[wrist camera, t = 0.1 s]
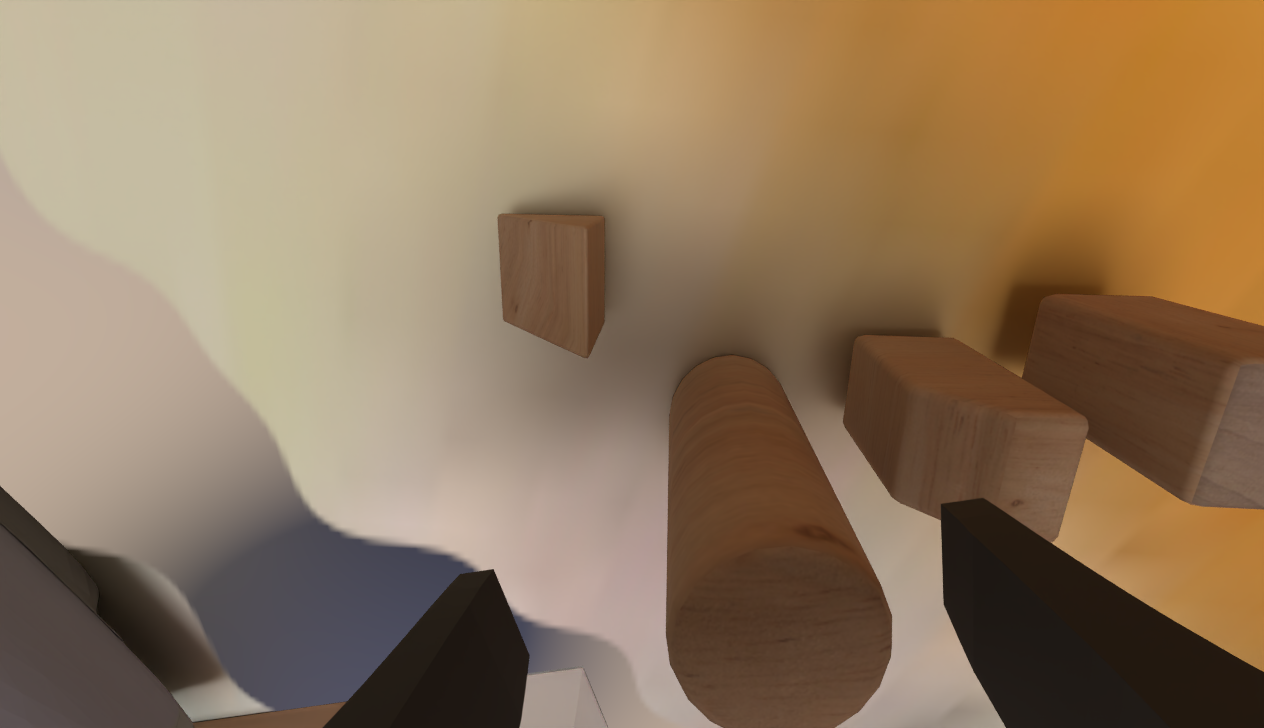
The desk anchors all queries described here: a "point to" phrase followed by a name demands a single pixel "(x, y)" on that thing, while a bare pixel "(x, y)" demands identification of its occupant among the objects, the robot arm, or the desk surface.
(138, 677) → the bluetooth speaker
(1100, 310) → the wooden block set
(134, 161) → the desk surface
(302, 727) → the base slab
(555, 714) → the brick
